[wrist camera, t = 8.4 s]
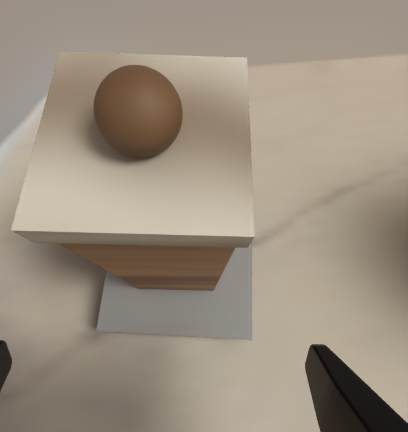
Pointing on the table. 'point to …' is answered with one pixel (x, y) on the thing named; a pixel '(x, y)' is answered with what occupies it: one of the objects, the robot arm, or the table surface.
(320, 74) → the table surface
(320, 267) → the table surface
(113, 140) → the box
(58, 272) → the table surface
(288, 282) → the table surface
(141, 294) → the stone block
